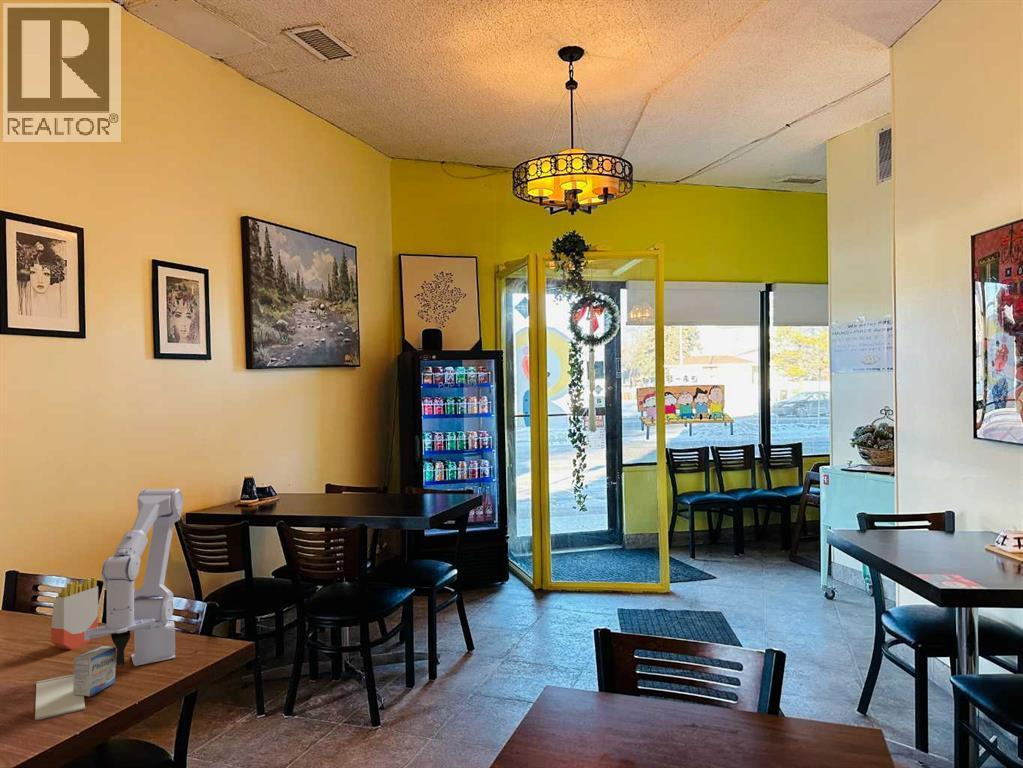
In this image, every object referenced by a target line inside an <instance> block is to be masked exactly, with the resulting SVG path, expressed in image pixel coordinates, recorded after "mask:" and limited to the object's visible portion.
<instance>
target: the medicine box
mask: <svg viewBox="0 0 1023 768" xmlns="http://www.w3.org/2000/svg"><path fill="white" fill-rule="evenodd" d="M116 655H117V648H116V646H107V645H105V646H104V645H100V646H99V647H97V648H94V649H92V650H90V651H89V650H88V651H87V652H86V653H85V652H84V653H83V654H81V655H78V656H76V657H74V659H73V674H74V684H73V695H79V696H84V697H88V698H89V697H91V696H94V695H95V694H97V693H99V692H101V691H103V690H104V689H106V688H108V687H110V686H112V685H114V684H115V683H116V682H115V681H116V665H117V664H116Z"/></svg>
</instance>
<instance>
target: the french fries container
mask: <svg viewBox="0 0 1023 768" xmlns="http://www.w3.org/2000/svg"><path fill="white" fill-rule="evenodd" d="M97 584H98V577H97V576H93V577H91V578H90V580H88V578H87V577H85V578H82V583H80V584H79V581H78V580H76V581H75V580H74V582H68V583H66V587H65V588H63V587H62V588H61V591H59V592H57V595H56V596H55V599H54V601H53V606H52V607H53V608H52V616H51V617H52V619H51V631H50V632H51V634H50V635H51V639H50V640H51V641H50V642H51V643H50V644H53V645H54V646H56V647H57V648H60V649H65V650H72V651H73V650H76V649H78V648H79V647H82V646H85V645H87V644H89V643H90V642H91V641H92V639H90V640H86V641H85V640H84V630H88V629H92V628H96V627H99V586H98V585H97Z"/></svg>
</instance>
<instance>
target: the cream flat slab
mask: <svg viewBox="0 0 1023 768" xmlns="http://www.w3.org/2000/svg"><path fill="white" fill-rule="evenodd" d="M73 684H74V673H73V674H67V675H63V676H58V677H53V678H47V679H43V680H38V681H36V686H35V713H34V714H35V715H34V721H40V720H44V719H48V718H53V717H57V716H62V715H67V714H71V713H75V712H79V711H84V710H86V705H85V704H86V703H85V696H79V695H73Z"/></svg>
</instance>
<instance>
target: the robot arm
mask: <svg viewBox="0 0 1023 768" xmlns="http://www.w3.org/2000/svg"><path fill="white" fill-rule="evenodd" d="M183 496H184V495H183V492H182V491H181V489H180V488H178V487H177V488H155V489H154V488H151V489H150V488H142V490H141V491H139V493H138V496H137V510H138V513H137V515H136V517H135V520H134V523H133V525H132V528H131V530H129V531H127V532H125V533H124V535H123V536H122V538H121V539H120V542H119V543H118V546H117V547H116V549H115V551H114V553H113V555H112V556H110V557H108V558H106V559H105V560H104V562H103V565H102V567H101V568H102V569H101V572H100V573H101V578H102V580H103V588H104V589H105V590H106V624H104V625H101V626H98V627H96V628H92V629H88V630H84V640H85V641H86V640H90V639H91V640H92V639H97V638H102V637H108V636H110V637H111V640H112V642H113V644H114V645H115V646H114V647H115V648H116V664H115V665H116V666H117V667H118V666H121V665H122V666H123V665H125V648H126V647H127V645H128V642H129V641H130V639H131V632H134V644H133V645H134V648H133V649H134V650H133V651H134V653H133V654H131V655H130V657H131V660H132V664H133V665H134V667H136V666H140V665H146V664H152V663H156V662H162V661H166V660H172V659H175V658H176V628H175V627H176V626H175V621H174V620H172V617H173V613H174V608H175V607H174V605H175V604H174V598H175V597H174V593H173V592H172V590H171V589H169V588H168V587H166V585H165V580H166V575H167V568H168V561H169V556H170V550H171V544H172V538H173V537H172V536H173V532H174V528H175V527H174V526H175V523H176V522H178V521H180V520H181V515H182V511H183V505H184V497H183ZM151 529H152V532H151V538H150V543H149V550H148V555H147V556H148V557H147V560H146V561H147V562H146V567H145V572H144V573H145V574H144V579H143V584H142V585H141V586H140V587H139V588H138V589H136V590H135V579H136V578H137V576H138V575H139V573H140V565H141V563H142V559H141V557H142V555H143V553H144V551H145V549H146V547H147V544H148V542H149V540H148V537H147V535H148V533H149V532H150V530H151Z"/></svg>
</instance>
